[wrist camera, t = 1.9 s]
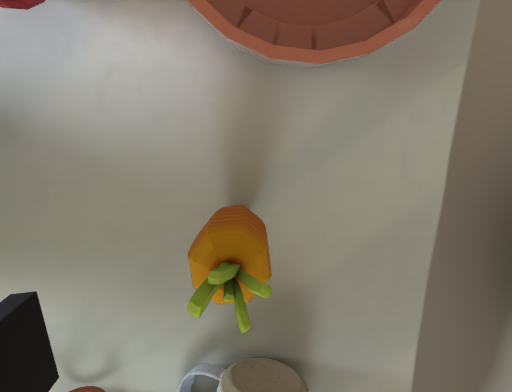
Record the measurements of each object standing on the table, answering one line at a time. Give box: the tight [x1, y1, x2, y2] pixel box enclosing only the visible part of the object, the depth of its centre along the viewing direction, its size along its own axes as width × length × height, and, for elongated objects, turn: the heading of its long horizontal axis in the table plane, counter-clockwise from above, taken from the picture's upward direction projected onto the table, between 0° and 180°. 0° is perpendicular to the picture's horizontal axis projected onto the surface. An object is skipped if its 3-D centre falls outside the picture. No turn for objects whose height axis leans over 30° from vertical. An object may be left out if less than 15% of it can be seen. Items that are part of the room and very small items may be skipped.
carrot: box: [187, 205, 272, 333], centre depth 28 cm, size 5×5×15 cm
